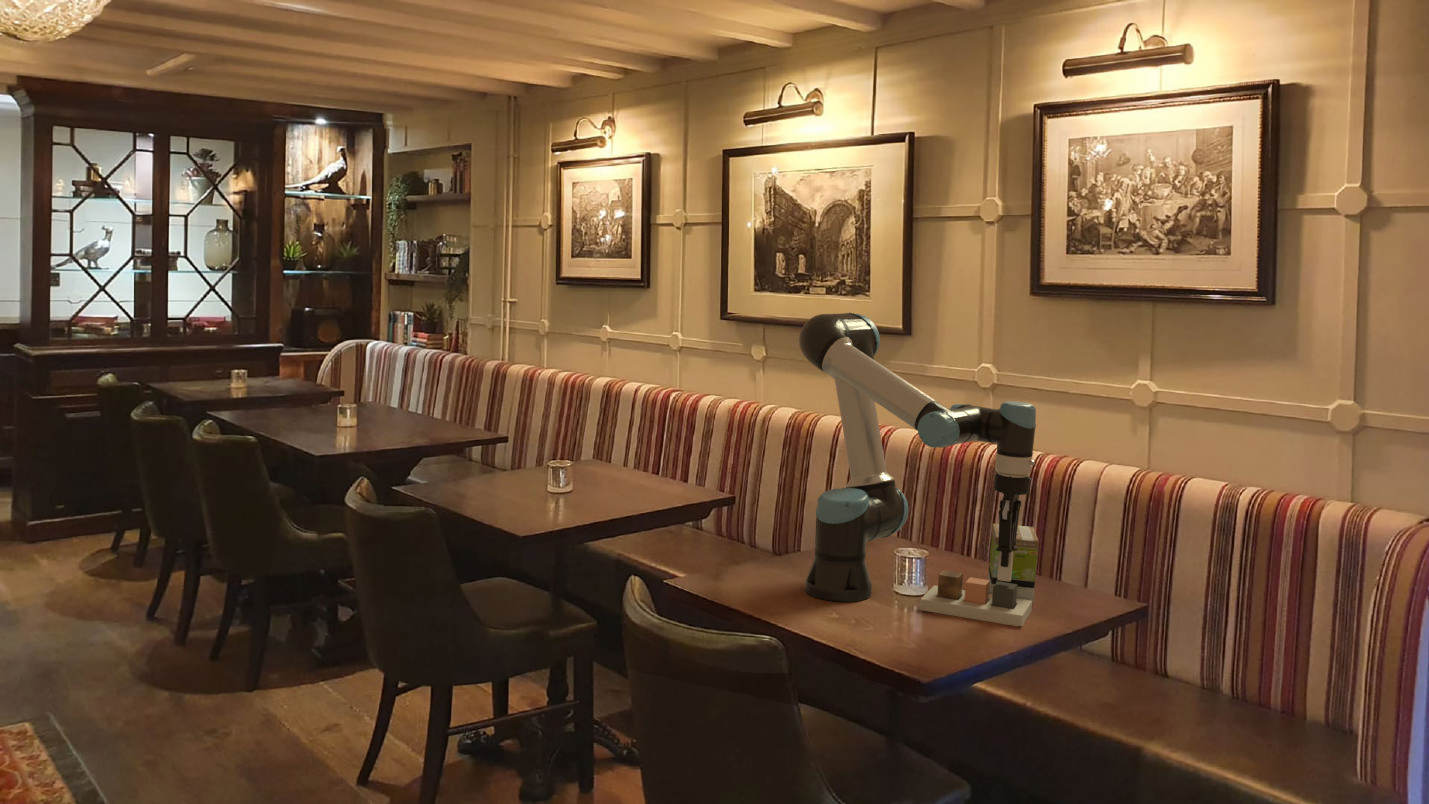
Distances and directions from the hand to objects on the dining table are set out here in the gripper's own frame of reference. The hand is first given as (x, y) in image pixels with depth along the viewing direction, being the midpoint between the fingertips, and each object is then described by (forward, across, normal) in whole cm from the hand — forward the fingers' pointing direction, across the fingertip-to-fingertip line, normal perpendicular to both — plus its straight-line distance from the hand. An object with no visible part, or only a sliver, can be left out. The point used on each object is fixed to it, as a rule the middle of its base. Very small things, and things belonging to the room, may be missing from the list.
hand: (1004, 579), depth 242 cm
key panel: (+8, 0, +6) cm, 10 cm away
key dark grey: (+6, 0, 0) cm, 6 cm away
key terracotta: (+6, 0, +6) cm, 8 cm away
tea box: (+8, +19, +2) cm, 21 cm away
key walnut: (+6, 0, +12) cm, 13 cm away
